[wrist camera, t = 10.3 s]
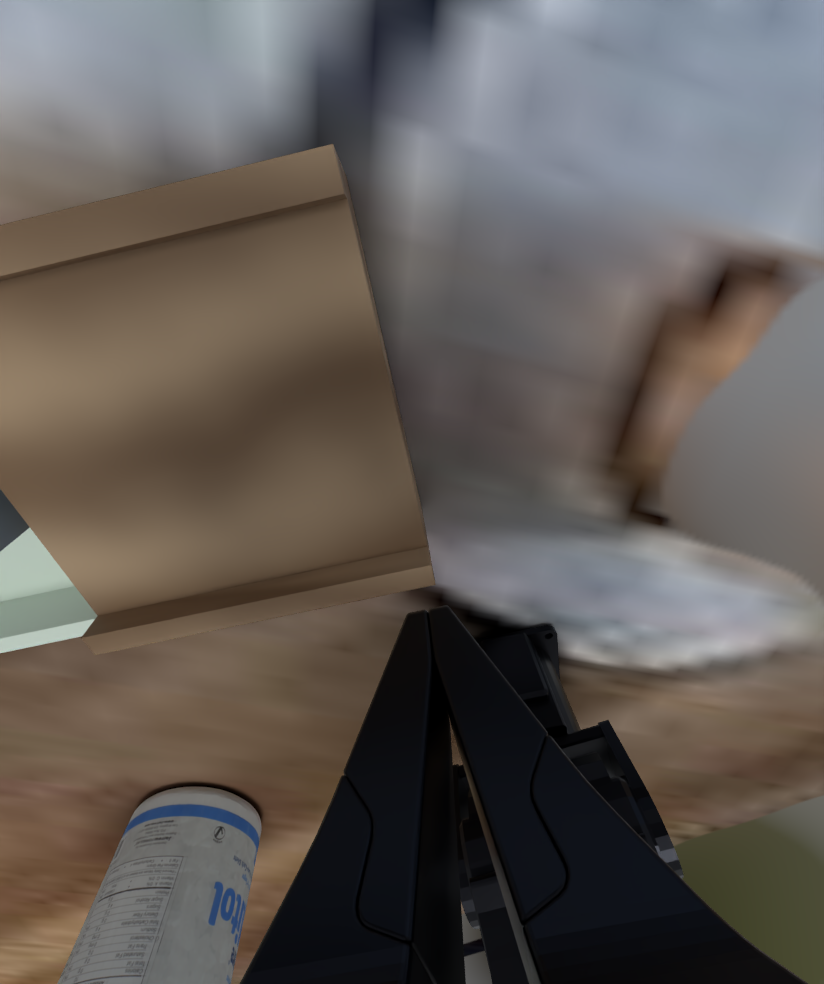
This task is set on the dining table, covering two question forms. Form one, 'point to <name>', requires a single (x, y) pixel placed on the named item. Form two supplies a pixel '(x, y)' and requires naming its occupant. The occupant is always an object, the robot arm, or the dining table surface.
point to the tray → (37, 597)
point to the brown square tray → (206, 404)
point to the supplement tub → (172, 894)
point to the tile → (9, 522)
